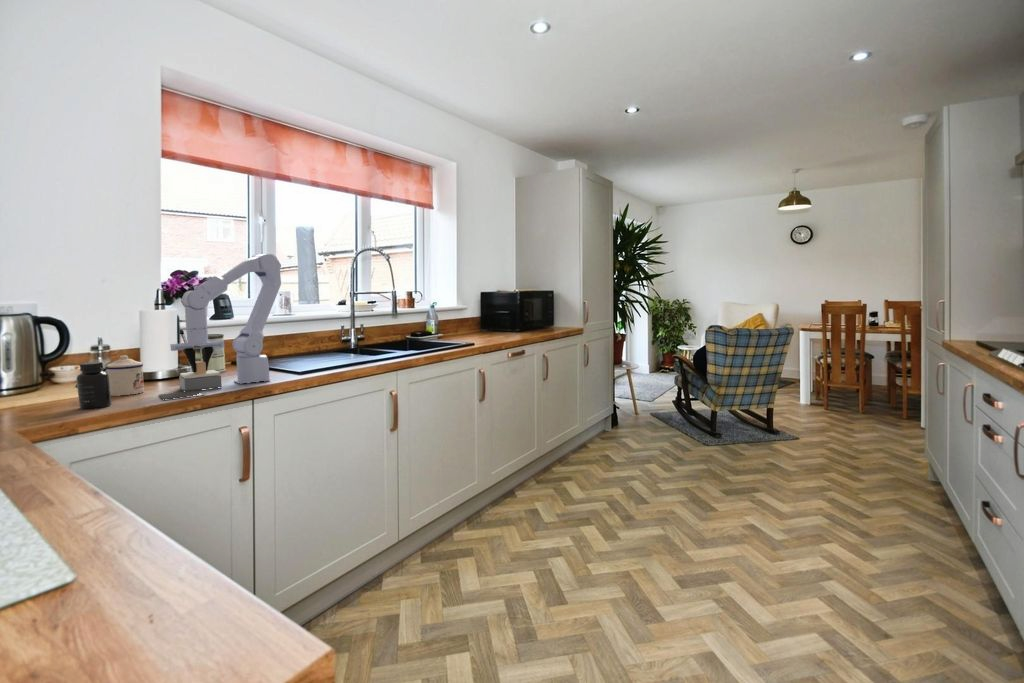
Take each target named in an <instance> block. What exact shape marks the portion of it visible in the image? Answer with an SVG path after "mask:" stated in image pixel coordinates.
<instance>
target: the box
mask: <svg viewBox="0 0 1024 683" xmlns="http://www.w3.org/2000/svg"><path fill="white" fill-rule="evenodd" d="M178 378H179V389H180V390H181V389H182V390H181V391H182V392H184V391H193V390H202V389H209V388H218V387H222V376H221V374H220V375H215V376H209V377H200V378H190V379H185V378H183V377H182V376H180V375H179V377H178ZM222 388H223V387H222ZM202 391H203V390H202Z"/></svg>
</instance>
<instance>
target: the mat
mask: <svg viewBox="0 0 1024 683" xmlns="http://www.w3.org/2000/svg"><path fill="white" fill-rule="evenodd" d="M199 393H202V392H201V391H198V390H193V391H185V392H184V391H179V392H178V391H176V392H169V393H160V394H158V395H159V396H160V397H161V398H162V399H161V398H160V397H159V396H158V397H159V398H160V399H161V400H163V399H164V400H163V401H166V400H165V399H172V400H174V399H173V398H180V397H187V396H193V395H197V394H199ZM180 399H181V398H180Z"/></svg>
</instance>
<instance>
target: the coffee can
mask: <svg viewBox="0 0 1024 683" xmlns="http://www.w3.org/2000/svg"><path fill="white" fill-rule="evenodd" d="M224 336H225V335H224V334H222V333H208V341H224V340H225V339H224ZM224 342H225V341H224ZM193 347H205V346H193ZM202 349H203V348H201V349H193V350H194V351H195V361H203V356H202ZM213 349H214V351H213V353H212V355H211V357H210V360H209V363H208V369H207V371H208V370H215V371H218V372H220V373H223V372H225V371H226V357H225V346H224V347H215V348H213Z"/></svg>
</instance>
